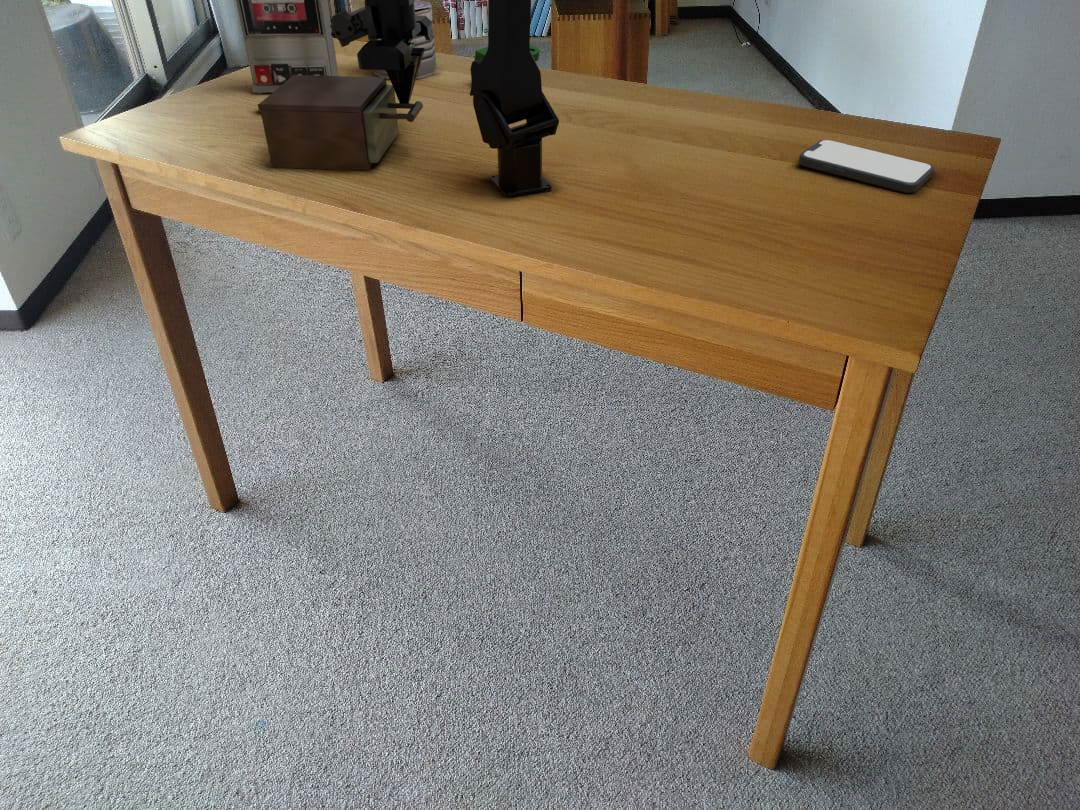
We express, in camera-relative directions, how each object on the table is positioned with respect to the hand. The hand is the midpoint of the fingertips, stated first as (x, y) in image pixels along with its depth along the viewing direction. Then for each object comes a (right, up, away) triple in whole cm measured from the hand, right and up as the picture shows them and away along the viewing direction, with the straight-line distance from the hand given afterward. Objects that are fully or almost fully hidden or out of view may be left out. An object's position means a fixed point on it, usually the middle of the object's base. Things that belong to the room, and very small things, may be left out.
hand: (404, 105), depth 119 cm
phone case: (+63, -12, -7) cm, 65 cm away
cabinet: (-10, -7, -1) cm, 12 cm away
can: (-5, +18, +32) cm, 37 cm away
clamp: (+14, +14, +27) cm, 33 cm away
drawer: (-6, -6, -1) cm, 9 cm away
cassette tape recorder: (-22, +11, +24) cm, 35 cm away
